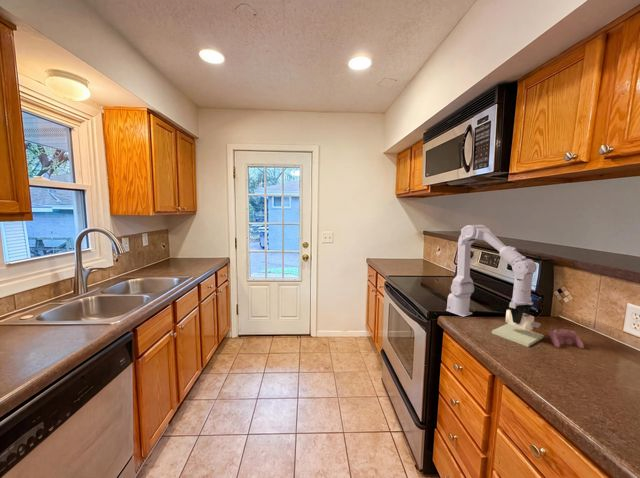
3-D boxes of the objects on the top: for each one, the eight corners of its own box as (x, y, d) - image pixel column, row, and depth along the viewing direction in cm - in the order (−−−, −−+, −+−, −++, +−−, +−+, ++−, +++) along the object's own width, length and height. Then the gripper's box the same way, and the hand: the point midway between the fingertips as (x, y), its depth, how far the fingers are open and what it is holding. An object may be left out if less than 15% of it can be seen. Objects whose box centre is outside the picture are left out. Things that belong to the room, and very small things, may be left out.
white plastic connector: (503, 322, 116) (504, 310, 116) (507, 320, 118) (508, 308, 117) (536, 332, 106) (538, 320, 106) (540, 330, 108) (541, 318, 108)
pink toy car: (576, 348, 107) (572, 329, 109) (586, 349, 103) (581, 329, 105) (549, 347, 108) (545, 328, 110) (557, 347, 104) (553, 327, 106)
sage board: (491, 333, 115) (491, 330, 115) (507, 325, 123) (508, 323, 123) (528, 346, 105) (528, 343, 104) (543, 337, 112) (543, 334, 112)
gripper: (525, 295, 104) (521, 329, 106) (541, 289, 112) (537, 321, 114) (504, 290, 110) (501, 322, 112) (521, 284, 118) (518, 315, 119)
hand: (518, 321), depth 113 cm, fingers closed on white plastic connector, 4 cm apart
